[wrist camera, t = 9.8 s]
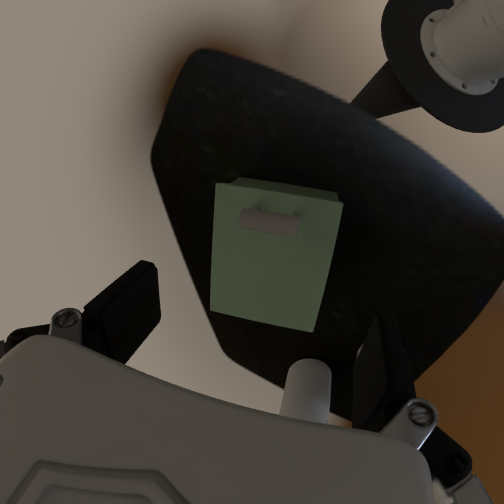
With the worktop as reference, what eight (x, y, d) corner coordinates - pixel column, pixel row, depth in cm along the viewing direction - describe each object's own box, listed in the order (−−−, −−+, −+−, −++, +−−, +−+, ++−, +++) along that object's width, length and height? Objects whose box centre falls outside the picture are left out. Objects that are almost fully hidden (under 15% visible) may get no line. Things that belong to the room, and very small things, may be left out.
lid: (218, 182, 29) (198, 192, 24) (342, 202, 27) (346, 216, 22) (211, 307, 35) (196, 332, 31) (312, 329, 33) (309, 358, 28)
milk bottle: (286, 356, 47) (262, 457, 29) (331, 356, 45) (324, 460, 27) (290, 385, 50) (269, 477, 32) (330, 385, 48) (322, 480, 30)
